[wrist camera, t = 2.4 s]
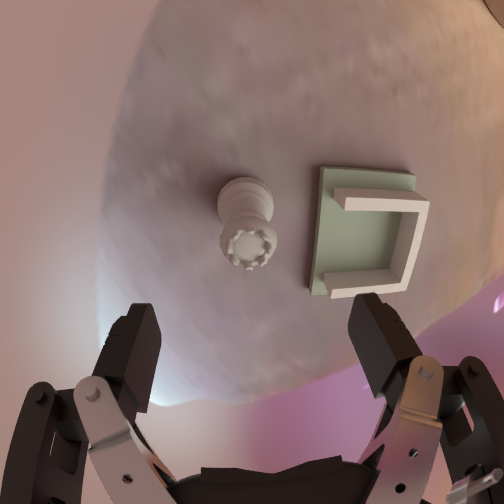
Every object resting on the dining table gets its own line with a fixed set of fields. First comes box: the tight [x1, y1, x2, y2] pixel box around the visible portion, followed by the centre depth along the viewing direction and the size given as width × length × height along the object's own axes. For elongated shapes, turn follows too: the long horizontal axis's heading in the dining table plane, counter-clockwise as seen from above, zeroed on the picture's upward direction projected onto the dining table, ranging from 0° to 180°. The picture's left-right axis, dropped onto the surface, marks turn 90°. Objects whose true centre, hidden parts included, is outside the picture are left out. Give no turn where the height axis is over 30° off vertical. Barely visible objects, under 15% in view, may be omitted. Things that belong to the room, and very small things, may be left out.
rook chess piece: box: [217, 177, 277, 270], centre depth 18 cm, size 4×4×8 cm
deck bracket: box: [309, 166, 430, 299], centre depth 22 cm, size 12×9×4 cm
